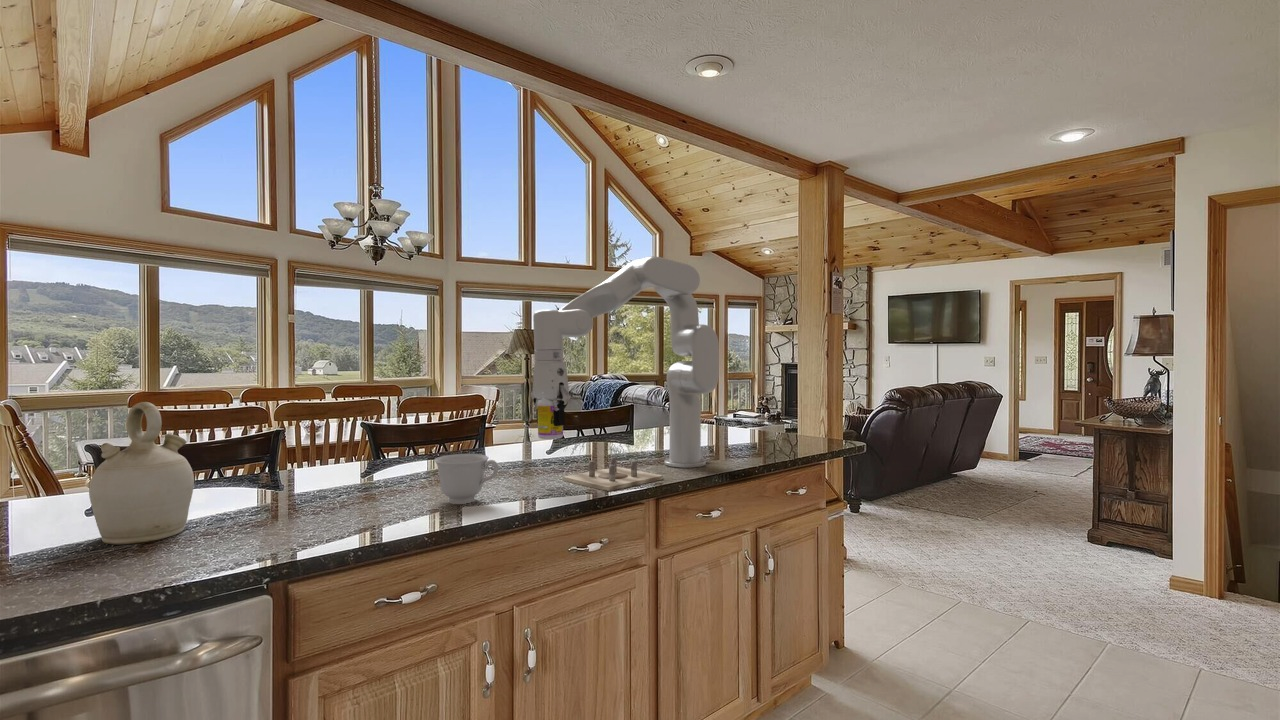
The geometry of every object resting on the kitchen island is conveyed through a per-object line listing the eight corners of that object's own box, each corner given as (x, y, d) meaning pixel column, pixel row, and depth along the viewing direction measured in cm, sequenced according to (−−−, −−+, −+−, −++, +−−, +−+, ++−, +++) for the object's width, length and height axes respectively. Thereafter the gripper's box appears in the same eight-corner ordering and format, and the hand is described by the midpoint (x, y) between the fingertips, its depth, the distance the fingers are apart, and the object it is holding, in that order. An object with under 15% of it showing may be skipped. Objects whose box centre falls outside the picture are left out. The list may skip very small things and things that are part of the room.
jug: (181, 519, 127) (179, 397, 126) (205, 533, 117) (204, 401, 117) (81, 536, 115) (80, 402, 115) (99, 553, 105) (98, 407, 105)
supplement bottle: (550, 440, 159) (549, 390, 158) (532, 438, 163) (531, 390, 162) (568, 437, 164) (567, 388, 164) (551, 435, 168) (549, 388, 168)
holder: (617, 470, 180) (617, 453, 179) (662, 479, 167) (662, 460, 167) (562, 480, 165) (562, 461, 165) (608, 491, 153) (608, 471, 153)
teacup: (486, 510, 134) (486, 464, 134) (423, 506, 137) (423, 461, 137) (508, 497, 146) (508, 455, 146) (450, 494, 149) (450, 452, 149)
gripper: (581, 356, 159) (582, 425, 160) (540, 356, 172) (542, 420, 172) (557, 357, 154) (559, 428, 155) (518, 357, 166) (519, 423, 167)
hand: (550, 423), depth 163 cm, fingers closed on supplement bottle, 6 cm apart
